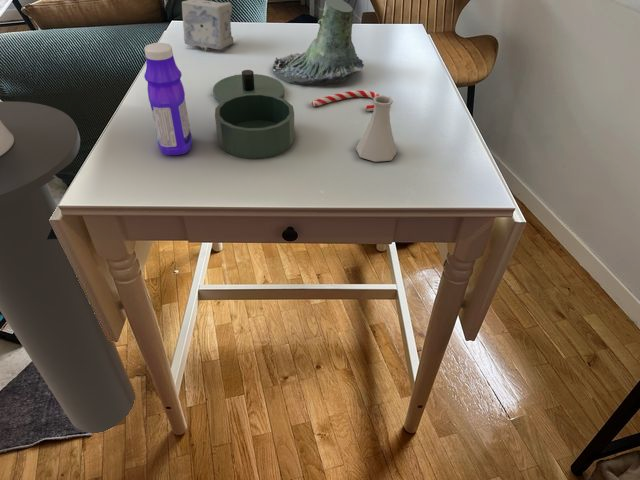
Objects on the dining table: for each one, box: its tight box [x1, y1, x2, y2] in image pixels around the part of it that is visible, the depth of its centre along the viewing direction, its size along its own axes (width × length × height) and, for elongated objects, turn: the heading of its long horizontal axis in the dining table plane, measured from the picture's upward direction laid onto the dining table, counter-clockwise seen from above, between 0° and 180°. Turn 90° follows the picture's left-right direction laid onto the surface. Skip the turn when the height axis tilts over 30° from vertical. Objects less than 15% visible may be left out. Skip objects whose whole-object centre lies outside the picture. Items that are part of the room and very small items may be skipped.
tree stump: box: [272, 0, 365, 86], centre depth 107 cm, size 18×20×18 cm
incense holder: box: [181, 0, 234, 52], centre depth 116 cm, size 10×8×10 cm
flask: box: [355, 94, 397, 163], centre depth 83 cm, size 7×7×10 cm
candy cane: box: [311, 90, 381, 112], centre depth 99 cm, size 8×1×15 cm
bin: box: [214, 93, 295, 160], centre depth 86 cm, size 14×14×6 cm
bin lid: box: [212, 69, 285, 103], centre depth 100 cm, size 15×15×5 cm
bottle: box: [143, 42, 193, 156], centre depth 79 cm, size 7×6×17 cm
